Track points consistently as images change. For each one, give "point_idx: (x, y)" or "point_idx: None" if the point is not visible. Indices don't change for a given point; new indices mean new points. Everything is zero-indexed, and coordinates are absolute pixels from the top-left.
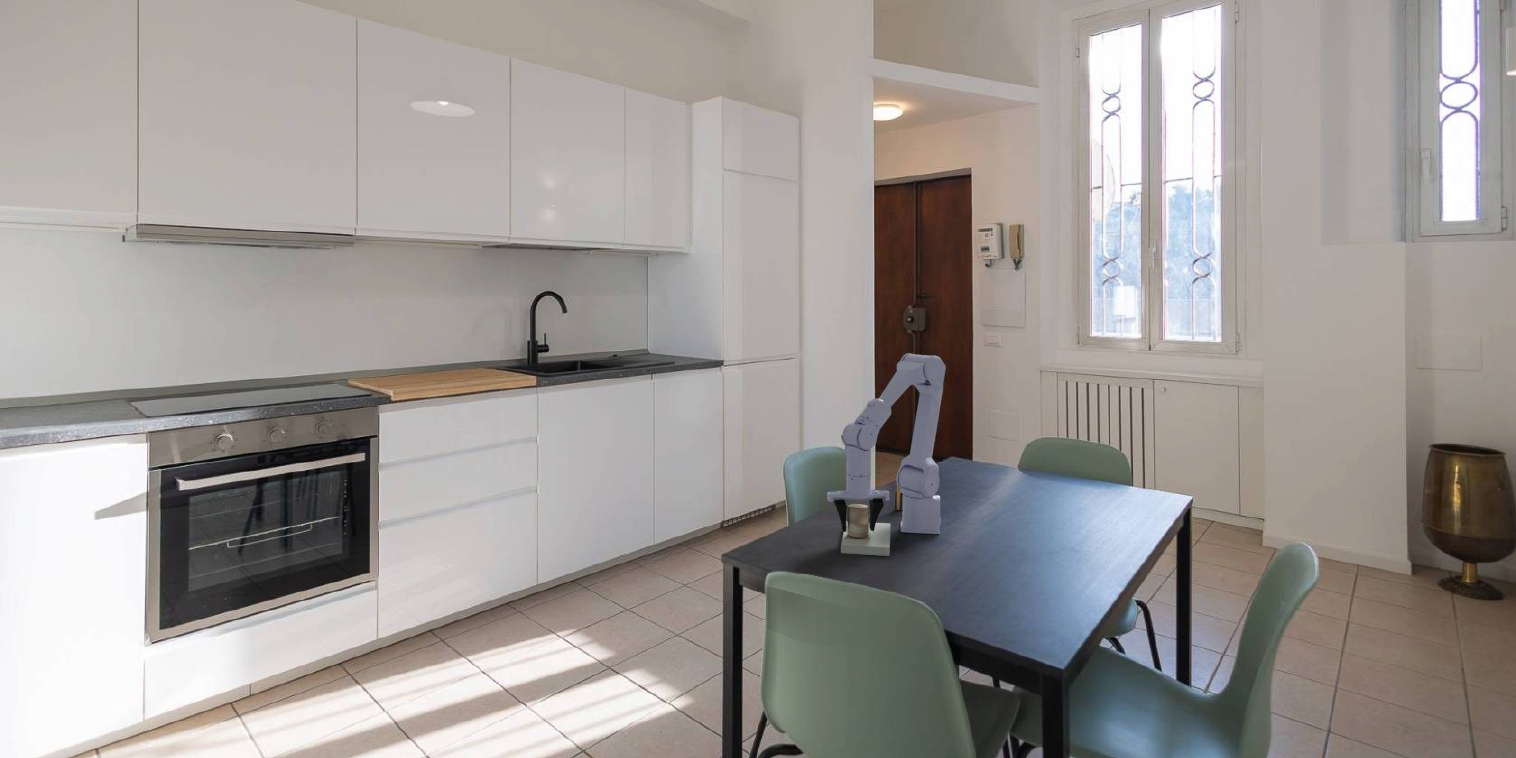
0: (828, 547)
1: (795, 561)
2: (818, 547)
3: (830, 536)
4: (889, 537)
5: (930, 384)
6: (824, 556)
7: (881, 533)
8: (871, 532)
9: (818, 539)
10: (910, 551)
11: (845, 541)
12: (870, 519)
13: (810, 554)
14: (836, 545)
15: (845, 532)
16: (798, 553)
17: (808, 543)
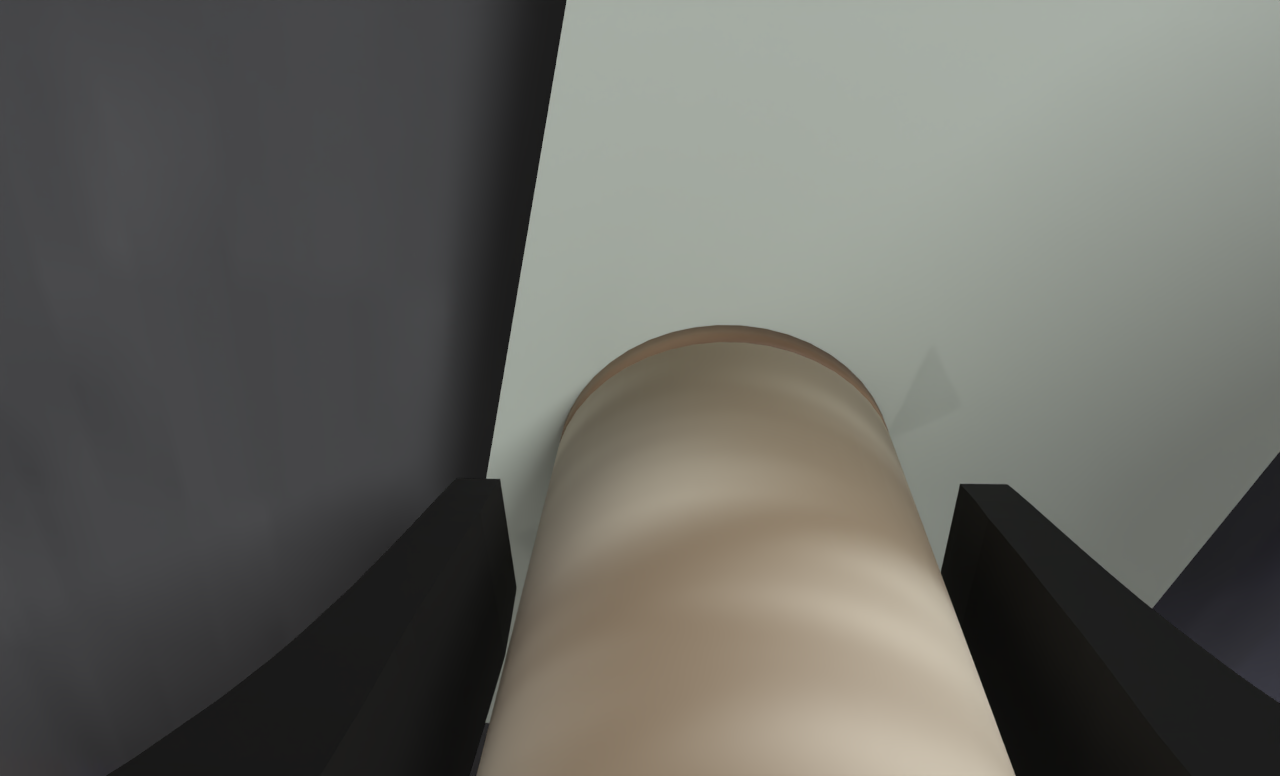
0: (329, 476)
1: (65, 740)
2: (208, 465)
3: (328, 24)
4: (1169, 576)
5: None
6: None
7: (1152, 410)
8: (1004, 348)
9: (150, 168)
10: (1252, 659)
11: (508, 643)
12: (1025, 650)
13: (160, 628)
14: (428, 423)
15: (544, 311)
16: (30, 596)
17: (47, 324)
